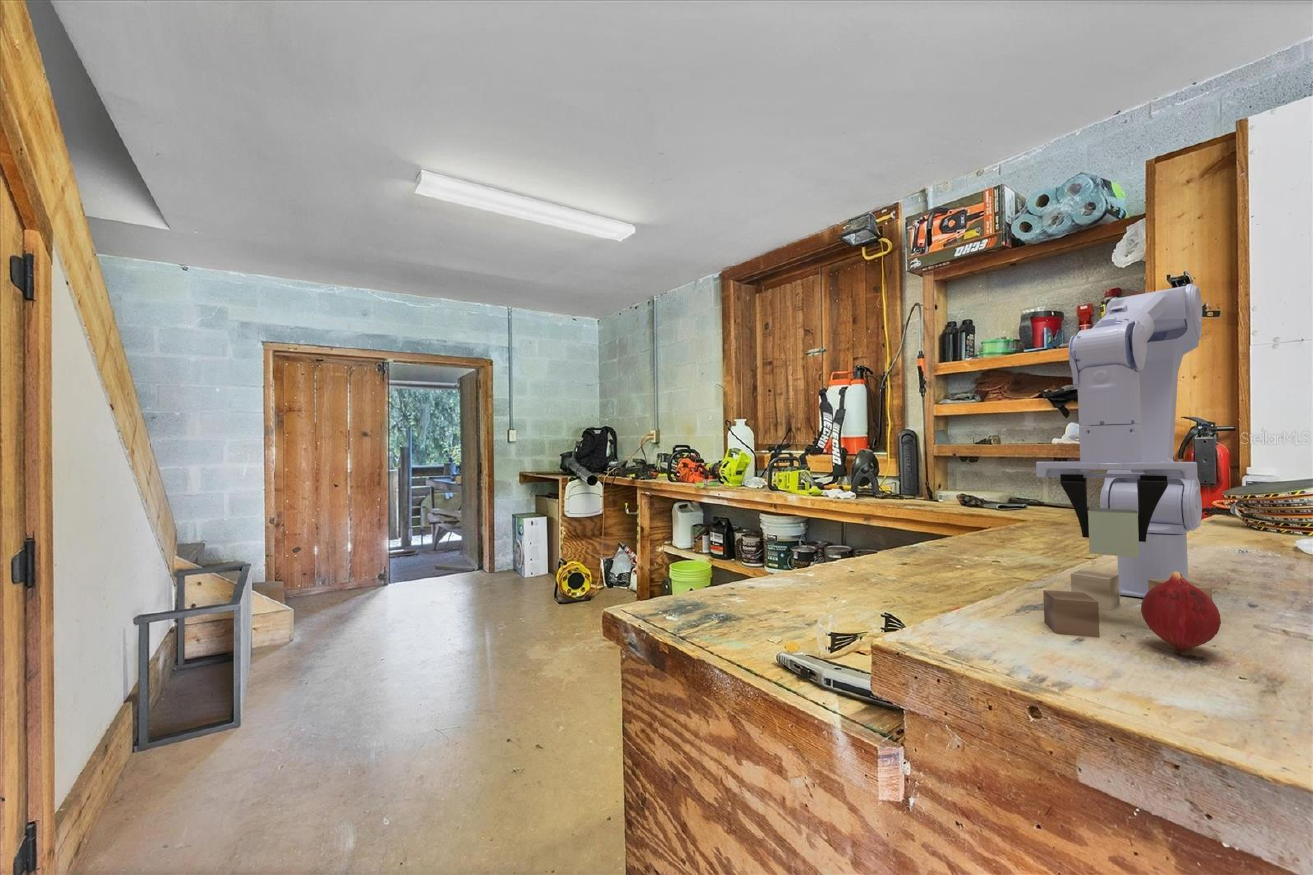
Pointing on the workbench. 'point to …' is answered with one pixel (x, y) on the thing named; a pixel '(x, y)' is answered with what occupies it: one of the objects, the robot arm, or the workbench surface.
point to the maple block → (1097, 587)
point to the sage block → (1113, 532)
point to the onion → (1180, 613)
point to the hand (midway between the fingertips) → (1113, 538)
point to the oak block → (1205, 589)
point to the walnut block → (1071, 613)
